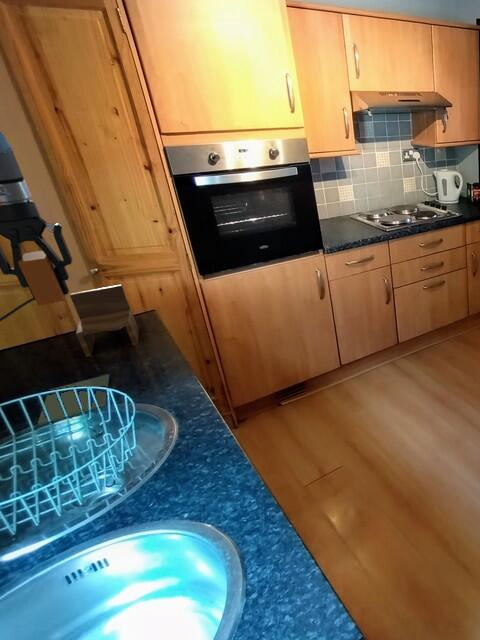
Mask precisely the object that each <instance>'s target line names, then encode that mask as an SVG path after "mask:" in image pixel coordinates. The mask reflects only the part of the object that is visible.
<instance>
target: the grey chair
mask: <svg viewBox="0 0 480 640" xmlns="http://www.w3.org/2000/svg"><path fill="white" fill-rule="evenodd" d="M69 297H70V299H71V302H72V304H73V306H74V309H75V311H76V314H77V316H78V318H79V320H78V325H77V328H76V331H75V335H76V337H77V340H78V342H79V343H80V346H81V349H82V351H83V353H84V355H85V357H86V358H89V357H92V355H93V351H94V346H95V342H96V338H95V335H94V334H97V333H101V332H107V330H110V329H115V328H119V327H122V328H124V327H125V329H126V331H127V335H128V336H129V340H130V342H131V344H132V346H133V347H135V346H138V345H139V326H138V323H137V322H136V319H135V317H134V314H133V311H132V309H131V305H130V303H129V301H128V298H127V295H126V292H125V289H124V287H123V285H122V284H121V283H120V284H116V285H111V286H105V287H100V288H99V287H98V288H94V289H88V290H83V291H82V290H81V291H77V292H72V293H69Z"/></svg>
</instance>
